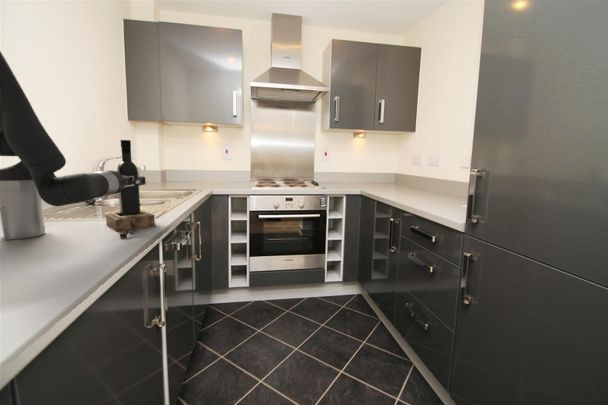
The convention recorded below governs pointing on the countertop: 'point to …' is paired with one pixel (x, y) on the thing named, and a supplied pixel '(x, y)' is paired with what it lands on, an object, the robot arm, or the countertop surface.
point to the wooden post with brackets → (128, 229)
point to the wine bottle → (129, 194)
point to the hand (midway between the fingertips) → (130, 179)
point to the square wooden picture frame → (129, 220)
